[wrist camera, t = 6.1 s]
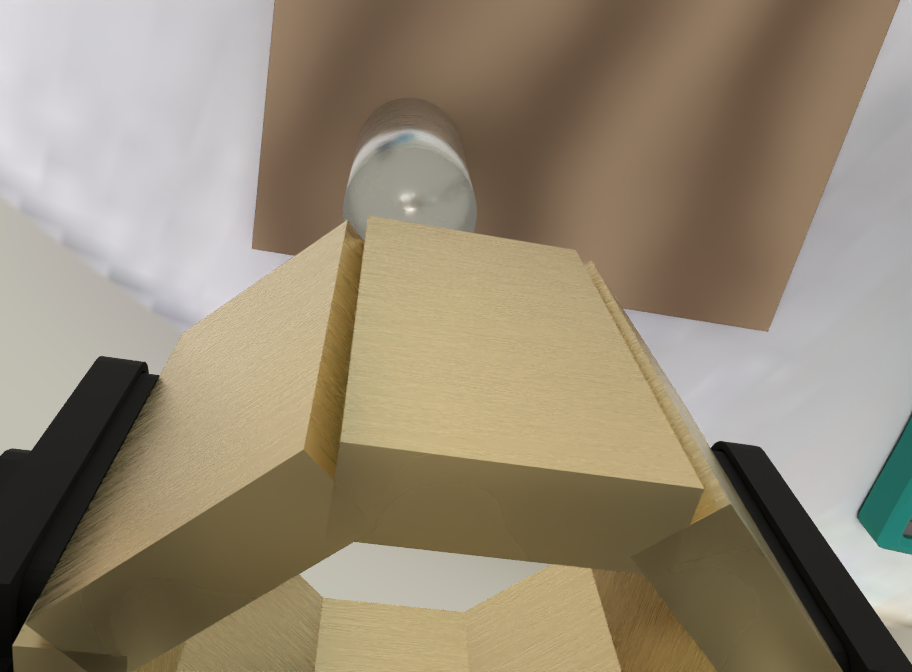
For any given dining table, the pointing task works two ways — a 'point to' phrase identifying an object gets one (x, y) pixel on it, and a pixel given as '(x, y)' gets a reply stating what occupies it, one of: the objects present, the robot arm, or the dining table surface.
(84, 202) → the dining table surface
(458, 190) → the piston post
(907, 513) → the digital multimeter
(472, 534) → the ring
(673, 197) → the board
